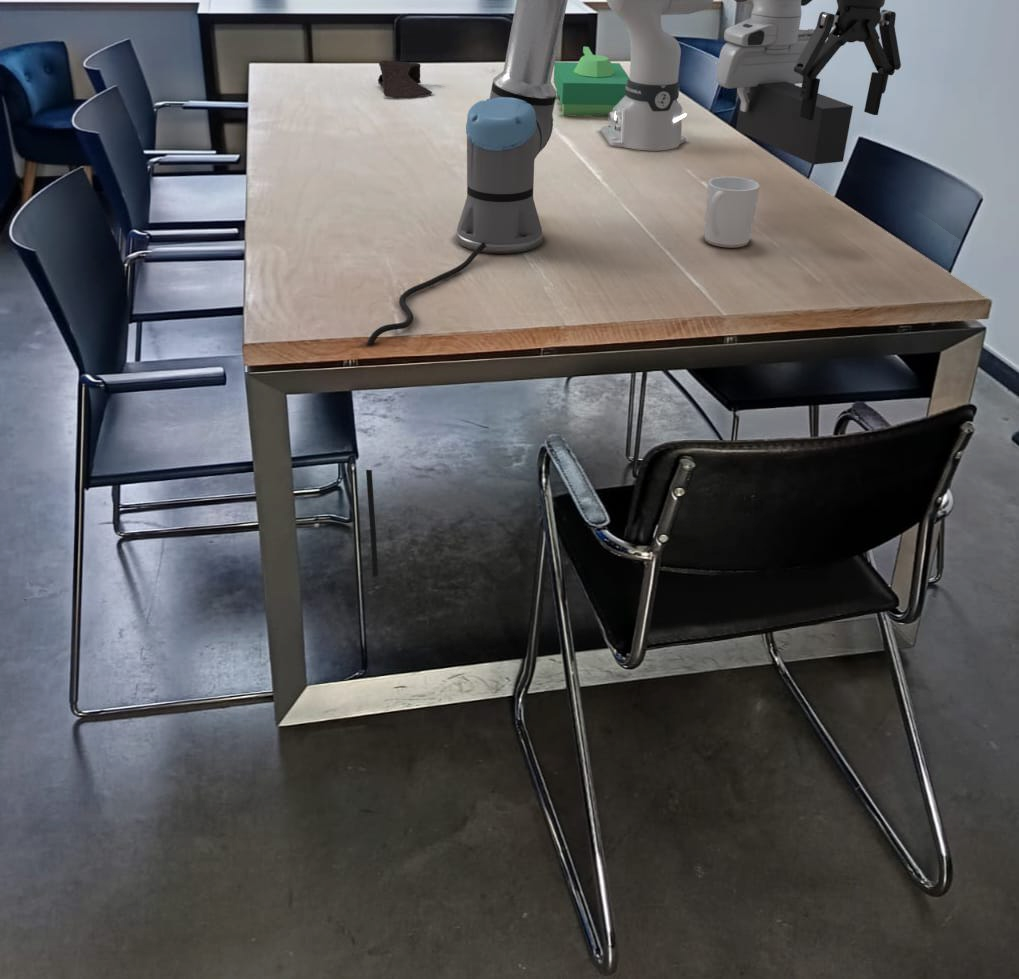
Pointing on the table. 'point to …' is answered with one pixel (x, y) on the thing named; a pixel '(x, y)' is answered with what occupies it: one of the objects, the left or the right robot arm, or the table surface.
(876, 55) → the left robot arm
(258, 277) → the table surface
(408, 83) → the axe head
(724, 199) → the mug
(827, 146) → the box
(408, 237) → the table surface
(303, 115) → the table surface
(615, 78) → the toy tank
